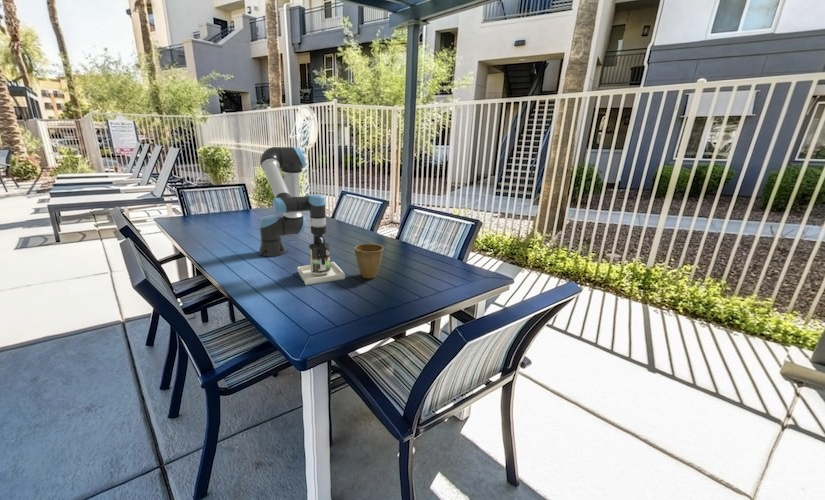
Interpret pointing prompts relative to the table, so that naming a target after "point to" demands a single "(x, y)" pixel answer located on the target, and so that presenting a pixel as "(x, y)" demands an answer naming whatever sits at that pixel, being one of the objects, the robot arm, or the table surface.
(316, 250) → the coffee can
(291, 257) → the table surface
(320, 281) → the tray
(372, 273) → the plant pot
